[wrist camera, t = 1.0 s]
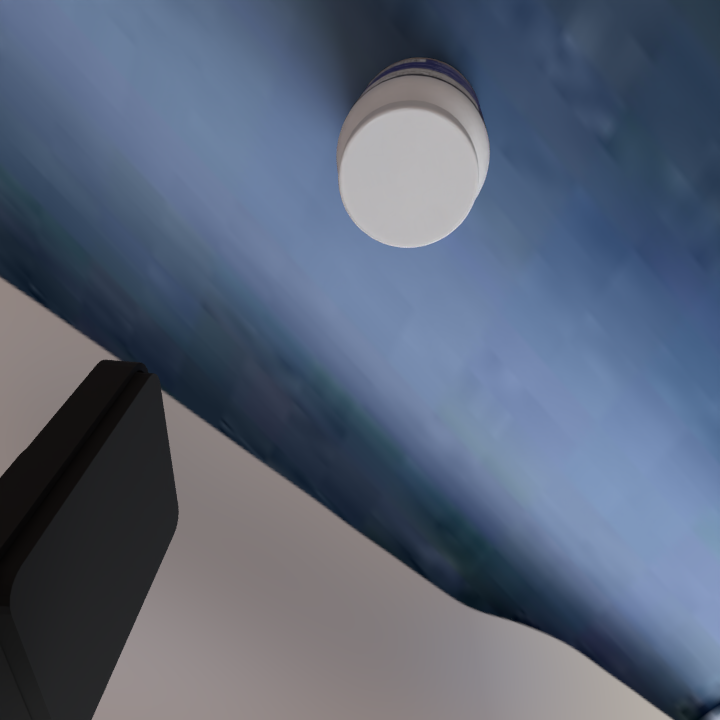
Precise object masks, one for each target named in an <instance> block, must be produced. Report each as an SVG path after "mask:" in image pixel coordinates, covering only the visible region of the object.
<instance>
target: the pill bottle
mask: <svg viewBox="0 0 720 720" xmlns="http://www.w3.org/2000/svg"><path fill="white" fill-rule="evenodd" d="M489 153H490V145H489V139H488V134H487V130H486V126H485V123H484V119H483V115H482V112H481V109H480V105H479V102H478V99H477V96H476V94H475V92H474V90H473V88H472V87H471V85H470V84H469V82H468V81H467V80H466V79H465V77H464V76H463V75H462V74H461V73H460V72H458V71H457V70H456V69H455V68H453V67H452V66H450V65H448V64H446V63H444V62H441V61H438V60H435V59H431V58H409V59H405V60H401V61H399V62H396V63H394V64H392V65H390V66H389V67H387V68H385V69H384V70H382V71H381V72H380V73H379V74H378V75H377V76H376V77H375V78H374V79H373V80H372V81H371V82H370V83H369V84H368V86H367V87H366V89H365V90H364V92H363V93H362V95H361V96H360V98H359V99H358V100H357V101H356V103H355V104H354V105H353V107H352V109H351V110H350V112H349V114H348V116H347V117H346V119H345V121H344V124H343V126H342V129H341V132H340V135H339V139H338V145H337V169H338V182H339V190H340V195H341V199H342V202H343V204H344V206H345V209H346V211H347V212H348V214H349V216H350V217H351V219H352V220H353V222H354V223H355V224H356V225H357V226H358V227H359V228H360V229H361V230H362V231H363V232H365V233H366V234H367V235H368V236H370V237H372V238H373V239H375V240H377V241H379V242H382V243H384V244H387V245H391V246H396V247H404V248H412V247H420V246H425V245H428V244H431V243H434V242H436V241H438V240H440V239H442V238H444V237H446V236H447V235H448V234H450V233H451V232H452V231H454V230H455V229H456V228H457V227H458V226H459V225H460V224H461V223H462V222H463V220H464V219H465V218H466V216H467V215H468V213H469V211H470V210H471V208H472V206H473V203H474V201H475V199H476V198H477V196H478V194H479V192H480V190H481V188H482V186H483V184H484V181H485V178H486V175H487V171H488V166H489Z"/></svg>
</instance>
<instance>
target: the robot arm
mask: <svg viewBox="0 0 720 720" xmlns="http://www.w3.org/2000/svg"><path fill="white" fill-rule="evenodd" d="M178 512H179V511H178V502H177V495H176V488H175V481H174V474H173V468H172V461H171V454H170V448H169V440H168V434H167V427H166V420H165V413H164V408H163V400H162V393H161V386H160V381H159V378H158V376H157V375H156V374H152V373H148V370H147V368H146V366H145V365H144V364H143V363H139V362H127V361H114V360H102V361H100V362H99V363H98V364H97V365H96V366H95V367H94V369H93V370H92V371H91V372H90V373H89V375H88V376H87V377H86V378H85V380H84V381H83V382H82V383H81V384H80V385H79V387H78V388H77V389H76V390H75V391H74V393H73V394H72V395H71V396H70V397H69V398H68V400H67V401H66V402H65V403H64V404H63V406H62V407H61V408H60V409H59V410H58V412H57V413H56V414H55V415H54V416H53V418H52V419H51V420H50V421H49V422H48V424H47V425H46V426H45V427H44V428H43V430H42V431H41V432H40V433H39V434H38V436H37V437H36V438H35V439H34V440H33V442H32V443H31V444H30V445H29V446H28V447H27V449H25V450H24V451H23V452H22V453H21V454H20V455H19V456H18V457H17V459H16V460H15V461H14V462H13V463H12V464H11V466H10V467H9V468H8V469H7V470H6V472H5V473H4V474H3V475H2V476H1V478H0V720H91V719H92V717H93V715H94V712H95V710H96V708H97V706H98V704H99V702H100V699H101V697H102V695H103V693H104V690H105V688H106V686H107V684H108V681H109V679H110V677H111V674H112V672H113V670H114V668H115V666H116V663H117V661H118V659H119V657H120V654H121V652H122V650H123V647H124V645H125V643H126V640H127V638H128V636H129V634H130V632H131V630H132V627H133V625H134V623H135V621H136V618H137V616H138V614H139V612H140V609H141V607H142V605H143V603H144V600H145V598H146V596H147V593H148V591H149V589H150V587H151V585H152V582H153V580H154V578H155V575H156V573H157V571H158V569H159V567H160V564H161V562H162V560H163V557H164V555H165V553H166V551H167V549H168V546H169V544H170V542H171V540H172V537H173V535H174V532H175V530H176V526H177V521H178Z"/></svg>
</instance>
